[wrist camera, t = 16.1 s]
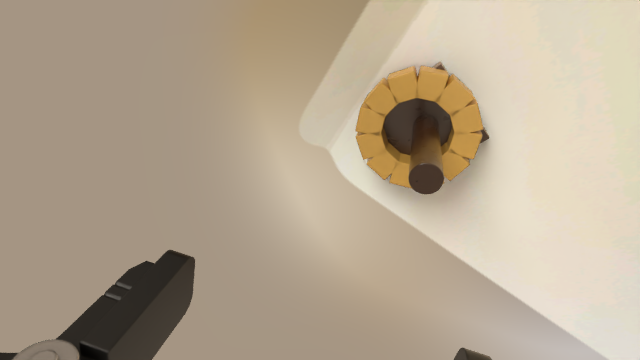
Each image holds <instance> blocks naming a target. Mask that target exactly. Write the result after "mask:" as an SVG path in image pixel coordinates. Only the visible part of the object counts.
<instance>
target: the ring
mask: <svg viewBox="0 0 640 360" xmlns="http://www.w3.org/2000/svg"><path fill="white" fill-rule="evenodd" d="M415 98H419V99H424V100H428V101H433V102H436V103H437V104H438V105H439V106H441V107H442V108H443V109H444V110H445V111H446V112H447V113H448V114H449V115H450V118H451V122H452V129H451V132H450V135H449V138H448V141H447V142H446V143H445V144H444V145H442V146H441V153H442V164H443V174H444V176H445V177H446V178H447V179H448V180H449V181H451V180H452V179H453V178H454V177H455V176H457V175H458V174H459V173H460V172H462V171H463V170H464V169H465V168H466V167H468V166H469V165H470V163H469V159H474V157H475V154H476V152H477V149H478V146H479V144H480V141H481V139H482V133H481V131H480V130H483V126H482V121H481V117H480V112H479V108H478V104H477V101H476V99H475V97H474V96H473V94H472V92H471V91H470V90H469V89H468V88H467V87H466V86H465V85H464V84H463V83H462V82H461V81H460V80H459V79H458V78H457V77H456V76H455V75H454V74H452V75H451V76H450V77H449V78H448V73H447V71H445V70H440V69H435V68H430V67H426V66H421V67H420V70H419V74H418V76H417V73H416V69H415V66H413V67H410V68H406V69H403V70H400V71H397V72H394V73H391V74H389V77H388V79H387V80H386V79H385V78H383V79H382V80H381V81H380V82H379V83H378V84H377V85H376V86H375V87H374V89H373V90H372V91H371V92H370V93H369V94H368V95H367V97H366V99H365V100H364V102H363V104H362V106H361V108H360V113H359V117H358V122H357V126H356V132H358V134H357V136H356V139H357V142H358V145H359V148H360V151H361V154H362V157H363V159H367V158H368V161H367V165H368V166H369V167H370V168H371V169H373V170H374V171H375V172H376V173H377V174H378V175H379V176H380V177H381V178H383V179H384V180H385V179H386V178H387V177H388V176H389V175H391V176H390V183H393V184H397V185H401V186H405V187H408V188H412V187H411V186H410V184H409V180H408V176H409V165H410V155H406V154H402V153H400V152H399V151H398V150H397V149H396V148H394V147H393V146H392V145H391V144H390V143H389V142H388V139H387V136H386V133H385V130H384V127H383V126H384V122H385V118H386V116H387V115H388V114H389V113H390V112H391V111H392V110H393V109H394V107H395V106H396V105H397V104H398V103H402V102H405V101H408V100H412V99H415ZM468 158H469V159H468ZM443 184H444V182H443Z"/></svg>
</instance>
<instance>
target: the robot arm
mask: <svg viewBox="0 0 640 360" xmlns="http://www.w3.org/2000/svg"><path fill="white" fill-rule="evenodd" d="M194 269H195V259H194V258H193V257H191V256H188V255H185V254H182V253H179V252H176V251H173V250H168V251H167V252H166V253H165V254H164V255H163V256H162V257H161V258H160V259H159V260H158V261H157V262H156V263H155V264H154V263H151V262H148V261H145V262H143V263H141V264H139V265H137V266H135V267H133V268H131V269H129V270H128V271H127V272H126V273H125V274H124V275H123V276H122V277H121V278H120V279H118V280H117V282H116V283H115V285H112V286H111V287H110V288H109V289H108V290H107V291H106V292H105V294H104V295H102V296H101V297H100V298H99V299H98V300H97V301H96V302H95V303H94V304H93V305H91V307H89V308H88V309H87V310H86V311H85V312H84V313H83V314H82V315H81V316H80V317H79V318H78V319H77V320H76V321H75V322H74V323H73V324H72V325H71V326H70V327H69V328H68V329H67V330H65V332H63V333H62V334H61V335H60V336H59V337H58V338H56V339H55V340H46V341H42V342H38V343H36V344H33V345H31V346H29V347H27V348H25V349H24V350H22V351H21V352H20V353H0V360H152V359H153V357H154V356H155V355H156V353H157V352H158V350H159V349H160V348H161V346H162V345H163V343H164V342H165V341H166V339H167V338H168V337H169V335H170V334H171V333H172V331H173V330H174V328H175V327H176V326H177V324H178V323H179V322H180V320H181V319H182V317H183V316H184V315H185V313H186V311H187V309H188V307H189V305H190V302H191V299H192V294H193V281H194ZM454 360H492V359H491V358H490V357H489V356H486V355H483V354H480V353H477V352H474V351H471V350H468V349H465V348H461V349H460V350H459V351H458V353H457V355H456V356H455V358H454Z"/></svg>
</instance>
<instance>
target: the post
mask: <svg viewBox="0 0 640 360" xmlns="http://www.w3.org/2000/svg"><path fill="white" fill-rule="evenodd" d="M432 68H435V69H440V70H445V71H447V70H446V69H445V67H444V66H443V64H442V63H441V62H439V63H438V64H436V65H435V66H433V67H432ZM447 73H448V72H447ZM449 77H450V75H449V73H448V78H449ZM482 126H483V125H482ZM383 127H384V130H385V133H386V136H387V139H388V142H389V143H390V144H391V145H392V146H393V147H394V148H396V149H397V150H398V151H399V152H400V153H402V154H406V155H410V165H409V176H408V180H409V184H410V186H411V187H412V189H414V190H415V191H416V192H418V193H421V194H431V193H434V192H436V191H437V190H439V189H440V188H441V186H442V184H443V182H444V174H443V164H442V153H441V146H442V145H444V144H445V143H446V142H447V141H448V138H449V135H450V132H451V129H452V122H451V118H450V115H449V114H448V113H447V112H446V111H445V110H444V109H443V108H442V107H441V106H439V105H438V104H437V103H436V102H433V101H428V100H424V99H419V98H415V99H412V100H408V101H405V102H402V103H398V104H397V105H396V106H395V107H394V109H393V110H392V111H391V112H390V113H389V114H388V115H387V116H386V118H385V122H384V126H383ZM480 131H481V133H482V139H481V141H480V143H482V142H483V141H485V140H487V139H489V136H488V133H487V132H486V130H485V129H484V127H483V130H480Z"/></svg>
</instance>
